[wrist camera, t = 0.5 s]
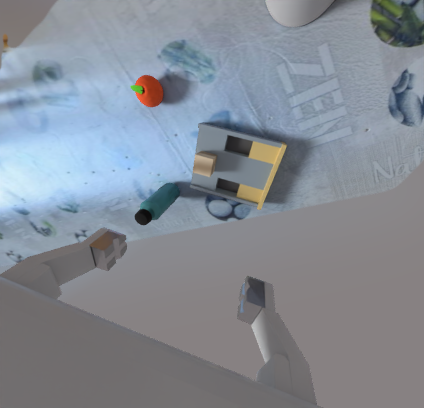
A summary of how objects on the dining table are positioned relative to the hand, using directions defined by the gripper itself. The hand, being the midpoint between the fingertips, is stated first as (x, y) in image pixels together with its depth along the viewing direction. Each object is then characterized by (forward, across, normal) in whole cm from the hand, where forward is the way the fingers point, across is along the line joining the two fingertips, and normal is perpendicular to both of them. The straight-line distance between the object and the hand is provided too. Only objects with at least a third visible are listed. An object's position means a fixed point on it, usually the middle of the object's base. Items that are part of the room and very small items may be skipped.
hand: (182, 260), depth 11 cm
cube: (+40, +8, +6) cm, 42 cm away
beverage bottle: (+44, +20, +20) cm, 52 cm away
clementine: (+44, +27, -8) cm, 52 cm away
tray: (+44, +1, +6) cm, 44 cm away
